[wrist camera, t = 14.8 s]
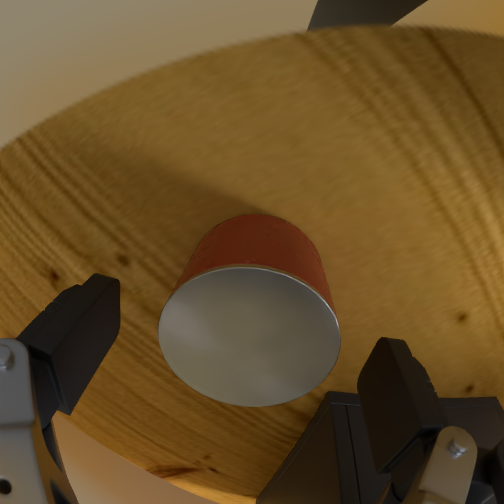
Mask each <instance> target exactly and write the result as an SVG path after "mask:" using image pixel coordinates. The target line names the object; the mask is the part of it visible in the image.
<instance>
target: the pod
mask: <svg viewBox="0 0 504 504" xmlns="http://www.w3.org/2000/svg"><path fill="white" fill-rule="evenodd" d="M158 339H159V344H160V348H161V351H162V354H163V356H164V358H165V360H166V362H167V363H168V365H169V366H170V368H171V369H172V370H173V372H174V373H175V374H176V375H177V376H178V377H179V378H180V379H181V380H182V381H183V382H185V383H186V384H187V385H188V386H190V387H191V388H193V389H194V390H196V391H197V392H199V393H201V394H203V395H205V396H207V397H209V398H211V399H214V400H217V401H220V402H223V403H227V404H231V405H238V406H247V407H263V406H272V405H277V404H282V403H285V402H289V401H292V400H294V399H297V398H299V397H301V396H303V395H305V394H307V393H309V392H310V391H311V390H313V389H314V388H316V387H317V386H318V385H319V384H320V383H321V382H323V381H324V380H325V378H326V377H327V376H328V375H329V374H330V372H331V370H332V369H333V367H334V366H335V363H336V361H337V358H338V355H339V351H340V345H341V336H340V328H339V325H338V321H337V317H336V313H335V309H334V305H333V302H332V298H331V294H330V291H329V287H328V284H327V280H326V277H325V273H324V270H323V266H322V263H321V259H320V256H319V254H318V252H317V250H316V248H315V246H314V244H313V243H312V242H311V240H310V239H309V238H308V237H307V236H306V235H305V234H304V233H303V232H302V231H301V230H300V229H298V228H297V227H295V226H294V225H292V224H291V223H289V222H287V221H284V220H282V219H279V218H276V217H273V216H267V215H255V214H253V215H243V216H238V217H234V218H232V219H229V220H226V221H224V222H222V223H221V224H219V225H217V226H216V227H214V228H213V229H212V230H211V231H209V232H208V233H207V234H206V235H205V237H204V238H203V239H202V240H201V242H200V243H199V245H198V247H197V249H196V250H195V252H194V254H193V256H192V257H191V259H190V261H189V263H188V264H187V266H186V268H185V270H184V271H183V273H182V275H181V277H180V279H179V280H178V282H177V284H176V286H175V288H174V289H173V291H172V293H171V295H170V297H169V298H168V300H167V302H166V304H165V306H164V308H163V310H162V312H161V315H160V318H159V324H158Z"/></svg>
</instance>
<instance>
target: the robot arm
mask: <svg viewBox="0 0 504 504" xmlns="http://www.w3.org/2000/svg"><path fill="white" fill-rule="evenodd" d="M119 329H120V282H119V280H118V279H115V278H112V277H108V276H105V275H101V274H98V273H94V274H93V275H92V276H91V277H90V278H89V279H88V280H87V281H86V282H85V283H84V284H83V285H82V286H81V285H78V284H76V285H74V286H72V287H70V288H68V289H66V290H63V291H62V292H61V293H60V294H59V295H58V296H57V297H56V298H55V299H54V300H53V303H52V302H51V303H50V304H49V305H48V306H47V307H46V308H45V311H44V310H43V311H42V312H41V313H40V314H39V315H38V316H37V317H36V318H35V319H34V320H33V321H32V322H31V323H30V324H29V325H28V326H27V327H26V328H25V329H24V330H23V331H22V333H21V334H20V335H19V336H18V337H17V338H16V339H10V338H1V339H0V504H79V503H78V501H77V498H76V496H75V494H74V492H73V489H72V487H71V485H70V483H69V480H68V478H67V475H66V471H65V468H64V465H63V461H62V458H61V454H60V450H59V446H58V442H57V438H56V433H55V429H54V424H53V421H52V417H53V415H54V414H55V412H56V410H58V411H61V412H63V413H65V414H67V415H69V416H70V414H71V413H72V411H73V409H74V407H75V406H76V404H77V402H78V401H79V399H80V397H81V395H82V394H83V392H84V390H85V389H86V387H87V385H88V384H89V382H90V380H91V379H92V377H93V375H94V374H95V372H96V370H97V369H98V367H99V365H100V364H101V362H102V361H103V359H104V357H105V356H106V354H107V353H108V351H109V349H110V348H111V346H112V345H113V343H114V342H115V340H116V338H117V335H118V333H119ZM357 391H358V395H359V399H360V403H361V408H362V412H363V416H364V421H365V425H366V429H367V434H368V439H369V443H370V448H371V453H372V458H373V463H374V468H375V473H376V474H389V473H391V478H392V479H391V480H390V481H389V482H388V483H387V484H386V485H385V487H384V489H383V491H382V492H381V494H380V496H379V497H378V499H377V501H376V502H375V504H483V503H484V502H486V501H487V500H488V499H490V498H491V497H492V496H494V495H495V498H496V501H497V504H504V439H503V440H501V441H500V442H499V443H498V444H497V445H496V446H495V447H494V448H493V449H492V450H491V449H486V448H481V447H477V446H476V443H475V441H474V439H473V438H472V436H471V435H470V434H469V433H468V432H466V431H465V430H463V429H462V428H459V427H456V426H451V425H450V422H449V420H448V418H447V416H446V413H445V411H444V409H443V406H442V404H441V402H440V400H439V398H438V395H437V393H436V392H434V391H435V389H434V387H433V385H432V382H430V378H429V376H428V374H427V372H426V370H425V368H424V367H423V366H422V365H421V364H420V363H419V361H418V360H417V359H416V358H415V357H413V356H412V354H411V352H410V350H409V348H408V346H407V344H406V342H405V341H404V340H400V339H393V338H387V337H381V338H380V339H379V340H378V341H377V343H376V345H375V347H374V348H373V350H372V352H371V354H370V356H369V358H368V359H367V361H366V363H365V365H364V367H363V368H362V370H361V372H360V374H359V377H358V382H357Z"/></svg>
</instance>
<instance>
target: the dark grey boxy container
mask: <svg viewBox="0 0 504 504" xmlns="http://www.w3.org/2000/svg"><path fill="white" fill-rule="evenodd" d="M439 400H440V402H441V404H442V406H443V409H444V411H445V413H446V416H447V418H448V420H449V422H450V425H451V426H456V427H459V428H462V429H463V430H465V431H466V432H468V433H469V434H470V435H471V436H472V438H473V439H474V441H475V443H476V446H477V447H481V448H486V449H491V450H492V449H493V448H494V447H495V446H496V445H497V444H498V443H499V442H500V441H501V440H503V439H504V410H503V408H502V406H501V404H500V402H499V400H498V399H497V397H481V398H439ZM391 479H392V478H391V473H389V474H376V473H375V468H374V463H373V458H372V453H371V448H370V443H369V439H368V434H367V429H366V425H365V421H364V416H363V412H362V408H361V403H360V399H359V395H358V394H351V393H341V392H332V391H329V392H328V393H327V395H326V397H325V399H324V400H323V402H322V404H321V405H320V407H319V409H318V410H317V412H316V414H315V415H314V417H313V418H312V420H311V422H310V423H309V425H308V426H307V428H306V430H305V431H304V433H303V434H302V436H301V437H300V439H299V440H298V442H297V443H296V445H295V446H294V448H293V449H292V451H291V452H290V454H289V455H288V457H287V458H286V460H285V461H284V462H283V464H282V465H281V467H280V468H279V470H278V471H277V472H276V474H275V475H274V476H273V478H272V479H271V481H270V482H269V483H268V485H267V486H266V487H265V489H264V490H263V491H262V493H261V494H260V495H259V496H258V498H257V499H256V504H375V502H376V501H377V499H378V497H379V496H380V494H381V492H382V491H383V489H384V487H385V485H386V484H387V483H388V482H389V481H390V480H391ZM483 504H497V501H496V498H495V495H494V496H492V497H491V498H490V499H488V500H487V501H486V502H484V503H483Z"/></svg>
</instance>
